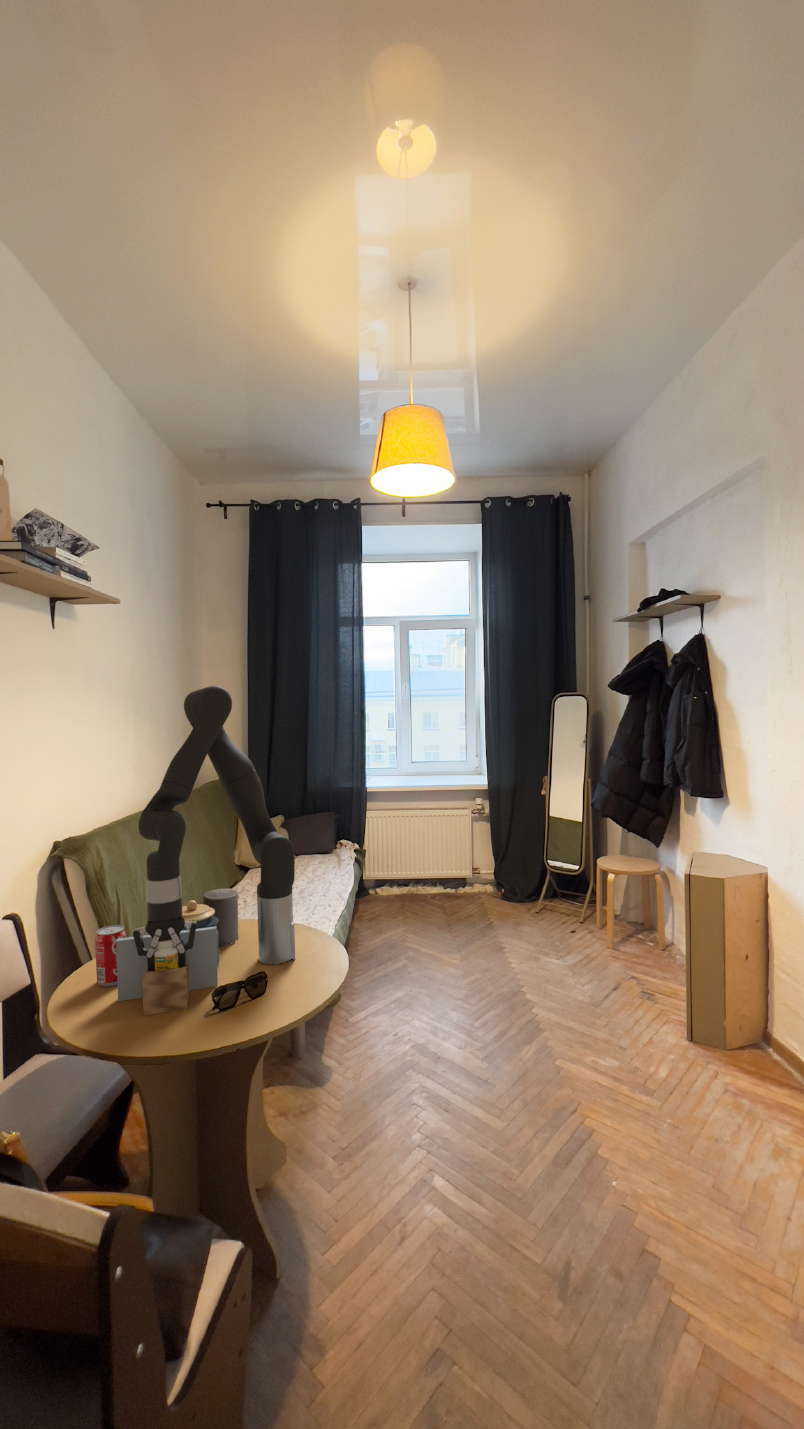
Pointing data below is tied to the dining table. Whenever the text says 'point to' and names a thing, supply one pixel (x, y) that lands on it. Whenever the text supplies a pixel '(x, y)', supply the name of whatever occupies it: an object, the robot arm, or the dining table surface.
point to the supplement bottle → (166, 955)
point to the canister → (201, 918)
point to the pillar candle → (224, 913)
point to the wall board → (197, 958)
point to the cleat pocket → (165, 990)
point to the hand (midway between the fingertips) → (167, 969)
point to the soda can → (107, 954)
